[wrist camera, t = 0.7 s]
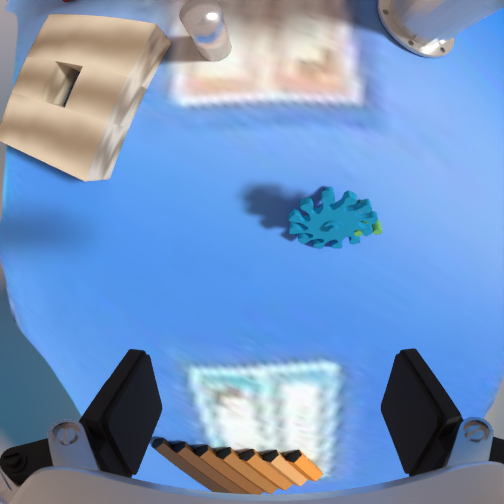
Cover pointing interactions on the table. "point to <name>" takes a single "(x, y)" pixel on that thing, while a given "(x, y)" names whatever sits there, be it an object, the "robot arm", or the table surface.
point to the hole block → (82, 91)
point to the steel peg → (207, 28)
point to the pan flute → (239, 468)
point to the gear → (334, 220)
